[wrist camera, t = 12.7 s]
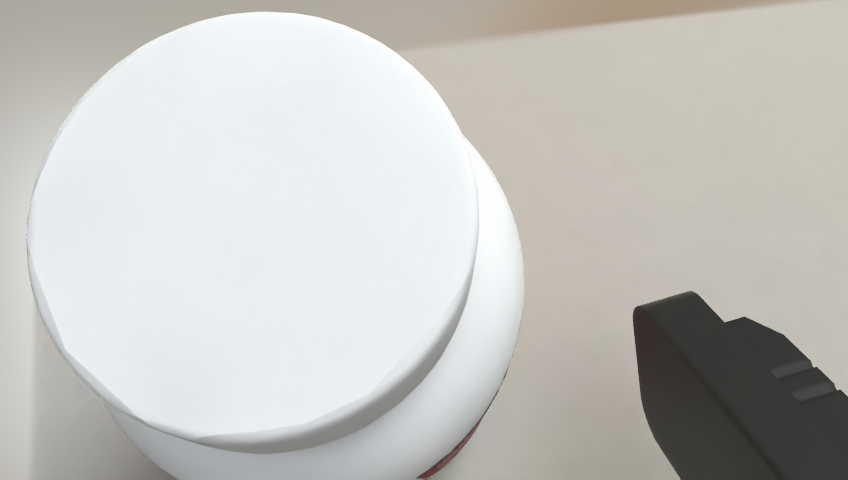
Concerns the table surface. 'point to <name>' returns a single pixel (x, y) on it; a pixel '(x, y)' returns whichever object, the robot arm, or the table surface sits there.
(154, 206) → the pill bottle
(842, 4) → the table surface
